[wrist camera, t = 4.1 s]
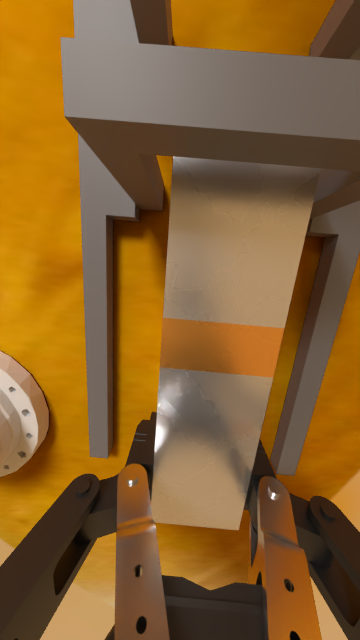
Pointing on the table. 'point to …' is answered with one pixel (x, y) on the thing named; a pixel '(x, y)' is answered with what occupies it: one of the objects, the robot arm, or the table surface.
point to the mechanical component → (19, 415)
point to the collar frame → (216, 144)
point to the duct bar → (222, 329)
